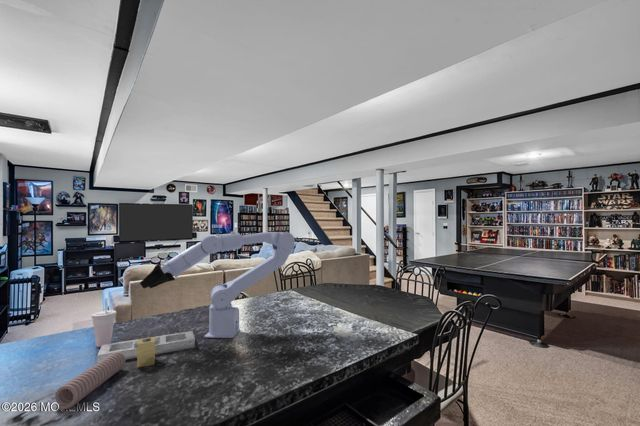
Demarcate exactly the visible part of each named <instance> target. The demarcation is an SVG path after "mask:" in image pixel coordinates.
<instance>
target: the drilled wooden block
mask: <svg viewBox="0 0 640 426" xmlns="http://www.w3.org/2000/svg"><path fill="white" fill-rule="evenodd" d="M155 337H156V336H151V337H144V338H137V339H138V341H135V343H134V348H137V358H136V359H137V360H136V362H137V363H136V368H143V367H148V366H154V365H155V364H156V354H155V345H158V338H155Z"/></svg>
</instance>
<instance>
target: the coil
mask: <svg viewBox="0 0 640 426" xmlns="http://www.w3.org/2000/svg"><path fill="white" fill-rule="evenodd" d="M125 365H126V360H125V357H124V355H123V354H122V353H120V352H113V353H111V354H110V355H108V356H107V357H105V358H104V359H102V360H101V361H100V362H98V363H97V362H96V363H95V364H94V365H92V366H90V367H89V368H87V369H86V370H84V371H83V372H81V373H80V374H78V375H77V376H74V378H72V379H71V380H68V381H67V382H65V383H64V384H63V385H61V386H60V387H59V388H57V390H56V392H55V394H54V395H55V396H54V398H55V402H56V403H57V404H58V406H59V407H58V411H63V410H62V409H66V410H70V409H72V408H73V407H74V406H76V405H77V404H78V403H79V402H80V401H81V400H83V399H85V398H86V397H87V396H88V395H90V394H91V393H92V392H93V391H95V390H96V389H98V388H99V387H100V386H101V385H103V384H104V383H105V382H107V381H108V380H109V379H111V377H113V376H114V375H115V374H116V373H118V372H119V371H121V370H122V369H123V368H124V366H125ZM69 408H70V409H69Z"/></svg>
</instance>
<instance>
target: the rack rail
mask: <svg viewBox="0 0 640 426" xmlns="http://www.w3.org/2000/svg"><path fill="white" fill-rule="evenodd" d="M154 337H155V338H158V345H155V355H160V354H165V353H171V352H177V351H182V350H187V349H193V348H195V347H196V339H195V335H194V332H193V330H189V331H188V330H187V331H182V332H176V333H170V334H164V335H158V336H154ZM138 339H139V338H137V339H131V340H125V341H118V342H111V344H104V345H102V346H101V347H99V348H100V349H99V350H98V352H97V355H96V356H97V357H96V358H97V359H96V363H98V362H100V361H101V360H102V359H104V358H105V357H107V356H108V355H110V354H111V353H113V352H120V353H122V354H123V355H124V357H125V361H126V360H131V359H132V360H133V359H137V348H134V343H135V341H138Z"/></svg>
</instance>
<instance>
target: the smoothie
mask: <svg viewBox="0 0 640 426" xmlns="http://www.w3.org/2000/svg"><path fill="white" fill-rule="evenodd" d="M104 301H105V302H104V310H100V311H97V312H94V313H92V314H91V317H90V318H91V320H92V325H93V332H94V334H93V335H94V341H95V346H96V348H101V346H102V345H104V344H111V343H112V337H113V330H114V325H115V324H114V323H115V319H116V316H117V311H116V310H113V309H111V310H109V309H108V298H106V297H105V299H104Z"/></svg>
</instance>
